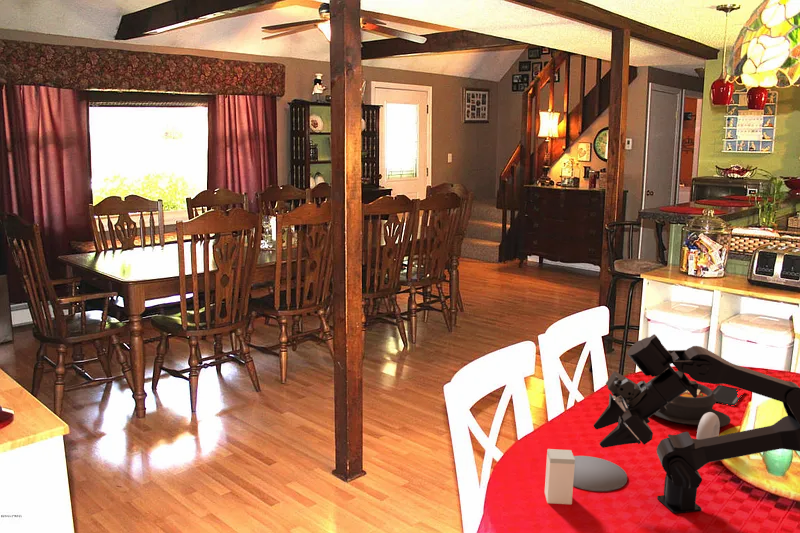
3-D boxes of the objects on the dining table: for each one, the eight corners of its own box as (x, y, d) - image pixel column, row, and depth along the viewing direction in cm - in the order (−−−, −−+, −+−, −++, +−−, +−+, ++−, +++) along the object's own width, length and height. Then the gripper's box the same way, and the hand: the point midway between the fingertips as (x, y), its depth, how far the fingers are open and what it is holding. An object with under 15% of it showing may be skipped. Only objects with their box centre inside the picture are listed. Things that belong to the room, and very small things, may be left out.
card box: (568, 493, 153) (571, 450, 151) (571, 504, 148) (575, 459, 146) (544, 492, 153) (547, 448, 151) (547, 503, 149) (550, 458, 147)
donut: (704, 443, 180) (708, 405, 178) (719, 447, 178) (723, 409, 176) (692, 456, 172) (696, 417, 170) (707, 460, 170) (711, 421, 168)
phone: (745, 390, 217) (734, 404, 205) (745, 393, 217) (734, 408, 205) (718, 384, 221) (705, 398, 209) (717, 388, 221) (705, 401, 209)
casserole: (622, 413, 198) (625, 384, 197) (651, 396, 212) (654, 369, 210) (714, 441, 182) (718, 409, 180) (740, 421, 195) (743, 391, 193)
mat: (640, 488, 156) (641, 485, 156) (573, 494, 153) (573, 491, 152) (605, 455, 171) (605, 453, 171) (542, 460, 168) (543, 458, 168)
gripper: (625, 349, 154) (568, 391, 158) (643, 377, 136) (577, 425, 139) (658, 387, 155) (600, 429, 158) (680, 421, 137) (614, 467, 140)
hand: (597, 436), depth 149 cm, fingers open, 9 cm apart
